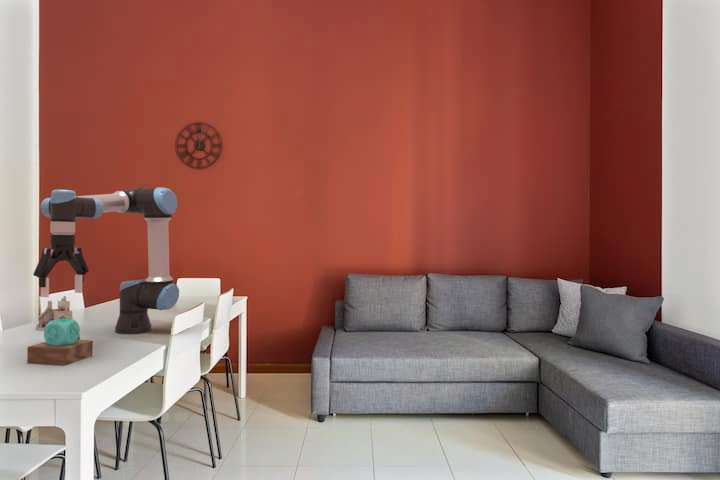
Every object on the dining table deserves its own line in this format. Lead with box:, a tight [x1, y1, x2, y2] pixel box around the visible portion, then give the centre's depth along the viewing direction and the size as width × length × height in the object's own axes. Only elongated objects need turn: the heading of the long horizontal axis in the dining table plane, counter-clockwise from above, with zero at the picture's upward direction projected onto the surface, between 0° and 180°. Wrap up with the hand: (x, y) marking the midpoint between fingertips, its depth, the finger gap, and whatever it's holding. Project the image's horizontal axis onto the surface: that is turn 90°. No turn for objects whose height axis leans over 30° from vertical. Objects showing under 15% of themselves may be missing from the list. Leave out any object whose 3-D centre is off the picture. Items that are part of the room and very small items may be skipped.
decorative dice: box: [43, 318, 81, 346], centre depth 179 cm, size 8×8×8 cm
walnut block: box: [26, 339, 94, 367], centre depth 179 cm, size 14×14×6 cm
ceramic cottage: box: [35, 295, 74, 332], centre depth 232 cm, size 16×16×15 cm
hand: (62, 294), depth 179 cm, fingers open, 13 cm apart
